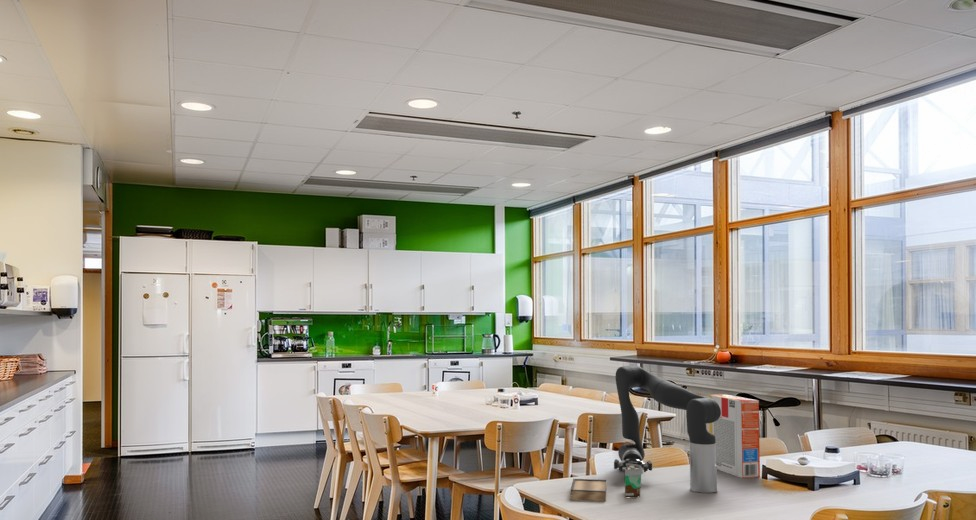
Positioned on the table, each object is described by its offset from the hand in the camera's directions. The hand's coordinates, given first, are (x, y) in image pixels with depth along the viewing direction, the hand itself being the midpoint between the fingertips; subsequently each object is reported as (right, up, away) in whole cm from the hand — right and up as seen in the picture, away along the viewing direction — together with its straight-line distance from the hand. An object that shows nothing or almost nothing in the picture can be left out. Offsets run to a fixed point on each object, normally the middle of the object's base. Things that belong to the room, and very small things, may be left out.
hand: (633, 468), depth 290 cm
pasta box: (+46, -9, +27) cm, 54 cm away
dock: (-18, -6, -13) cm, 23 cm away
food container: (-2, -6, -14) cm, 15 cm away
